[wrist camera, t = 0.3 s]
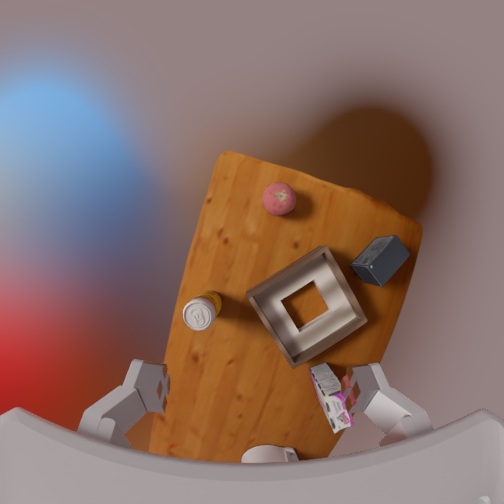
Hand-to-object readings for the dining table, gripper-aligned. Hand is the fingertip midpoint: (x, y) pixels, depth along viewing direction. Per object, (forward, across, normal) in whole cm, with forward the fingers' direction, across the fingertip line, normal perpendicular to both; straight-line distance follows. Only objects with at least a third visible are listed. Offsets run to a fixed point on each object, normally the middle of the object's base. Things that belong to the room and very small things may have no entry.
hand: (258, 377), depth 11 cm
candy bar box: (+34, +22, -47) cm, 62 cm away
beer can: (+45, -8, -29) cm, 54 cm away
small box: (+48, +32, -18) cm, 60 cm away
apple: (+55, +7, -7) cm, 56 cm away
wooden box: (+44, +15, -28) cm, 54 cm away
